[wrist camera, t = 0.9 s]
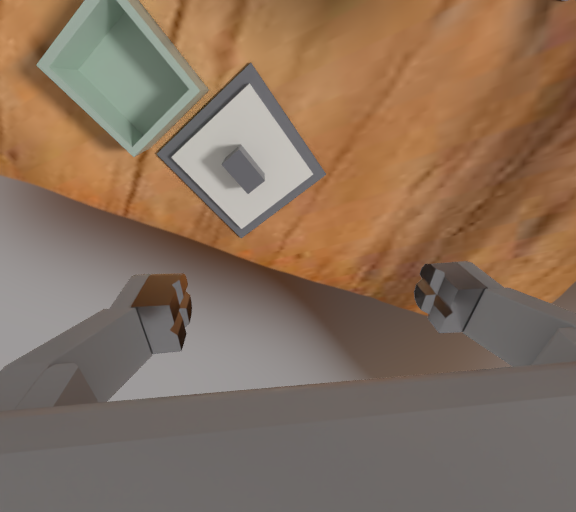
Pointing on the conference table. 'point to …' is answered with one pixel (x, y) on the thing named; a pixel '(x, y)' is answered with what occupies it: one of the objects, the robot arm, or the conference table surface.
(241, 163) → the lid
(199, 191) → the mat
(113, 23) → the pale green open box
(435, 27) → the conference table surface
